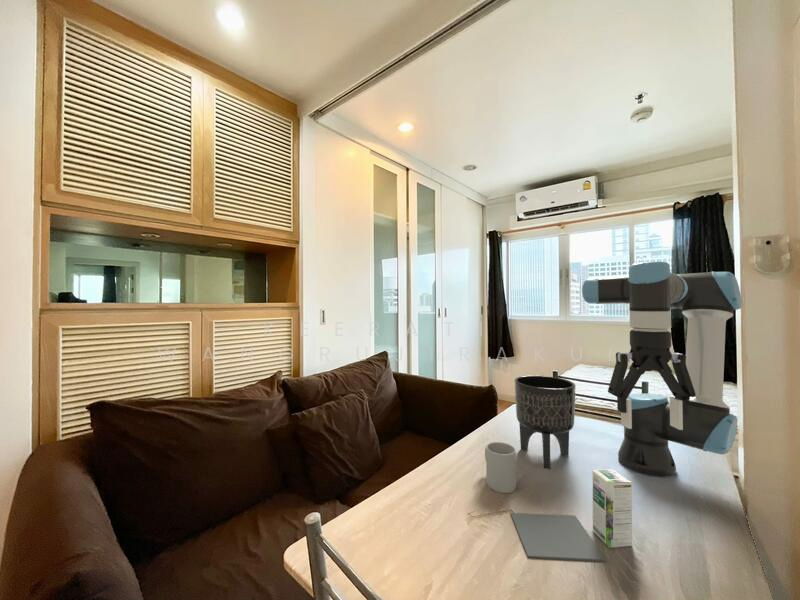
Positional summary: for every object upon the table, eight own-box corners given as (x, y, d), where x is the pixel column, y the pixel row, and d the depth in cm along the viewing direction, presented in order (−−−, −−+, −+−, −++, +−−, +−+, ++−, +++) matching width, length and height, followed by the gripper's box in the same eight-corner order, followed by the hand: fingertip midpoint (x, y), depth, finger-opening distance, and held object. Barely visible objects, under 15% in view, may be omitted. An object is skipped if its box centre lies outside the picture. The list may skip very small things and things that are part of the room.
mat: (575, 517, 81) (575, 515, 81) (606, 561, 67) (606, 559, 67) (510, 514, 82) (510, 512, 82) (527, 557, 68) (527, 555, 68)
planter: (581, 476, 100) (580, 391, 100) (515, 465, 107) (514, 386, 107) (571, 448, 119) (570, 377, 119) (515, 441, 125) (514, 373, 125)
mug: (522, 490, 93) (522, 452, 93) (497, 495, 90) (496, 456, 90) (497, 469, 104) (497, 435, 104) (474, 474, 102) (474, 439, 102)
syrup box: (591, 530, 76) (590, 469, 76) (614, 528, 77) (613, 468, 77) (609, 548, 71) (608, 482, 71) (634, 546, 71) (633, 481, 71)
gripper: (689, 328, 76) (690, 421, 76) (589, 328, 78) (591, 419, 78) (717, 331, 69) (719, 434, 69) (607, 331, 71) (608, 432, 70)
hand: (651, 426), depth 73 cm, fingers open, 10 cm apart
